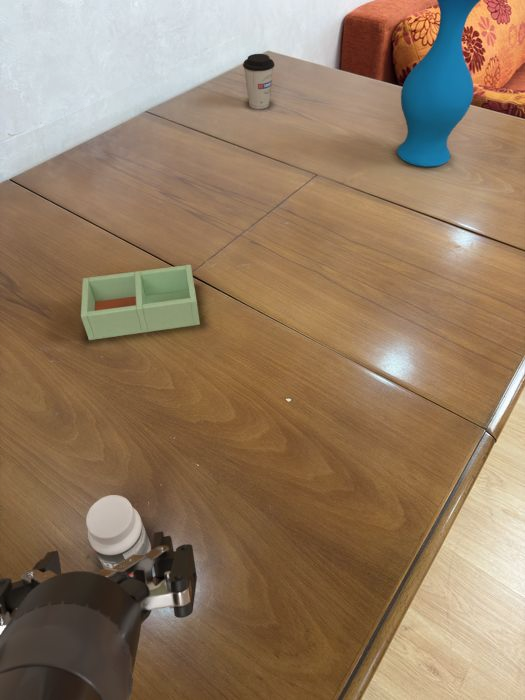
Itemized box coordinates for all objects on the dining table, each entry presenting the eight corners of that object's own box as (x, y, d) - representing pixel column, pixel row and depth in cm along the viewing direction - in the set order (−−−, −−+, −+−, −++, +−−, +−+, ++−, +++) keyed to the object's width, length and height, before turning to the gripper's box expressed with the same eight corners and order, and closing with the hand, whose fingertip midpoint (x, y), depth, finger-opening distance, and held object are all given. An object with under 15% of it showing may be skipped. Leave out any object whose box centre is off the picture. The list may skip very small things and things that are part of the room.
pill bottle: (92, 560, 52) (68, 522, 46) (127, 522, 54) (108, 481, 48) (127, 589, 50) (107, 553, 44) (162, 548, 52) (147, 509, 46)
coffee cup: (237, 104, 123) (235, 57, 116) (260, 95, 126) (259, 49, 119) (258, 113, 120) (257, 66, 112) (280, 104, 123) (281, 57, 115)
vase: (445, 178, 100) (490, 4, 79) (381, 162, 104) (408, -6, 84) (463, 150, 107) (508, -15, 86) (402, 137, 111) (432, -24, 91)
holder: (89, 340, 72) (80, 316, 69) (90, 301, 77) (82, 278, 74) (199, 324, 74) (196, 300, 71) (193, 288, 79) (190, 264, 76)
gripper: (184, 580, 29) (188, 492, 45) (-99, 636, 27) (11, 524, 43) (204, 715, 29) (201, 579, 45) (-74, 778, 27) (26, 614, 43)
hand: (108, 552), depth 44 cm, fingers open, 8 cm apart
